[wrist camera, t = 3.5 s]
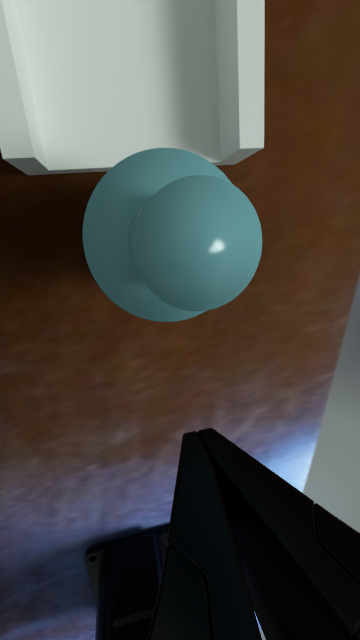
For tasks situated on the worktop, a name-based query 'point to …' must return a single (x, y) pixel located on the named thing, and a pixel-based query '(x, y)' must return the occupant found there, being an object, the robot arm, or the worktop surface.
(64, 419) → the worktop surface
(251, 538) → the robot arm
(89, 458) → the worktop surface
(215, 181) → the bottle
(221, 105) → the u rest
